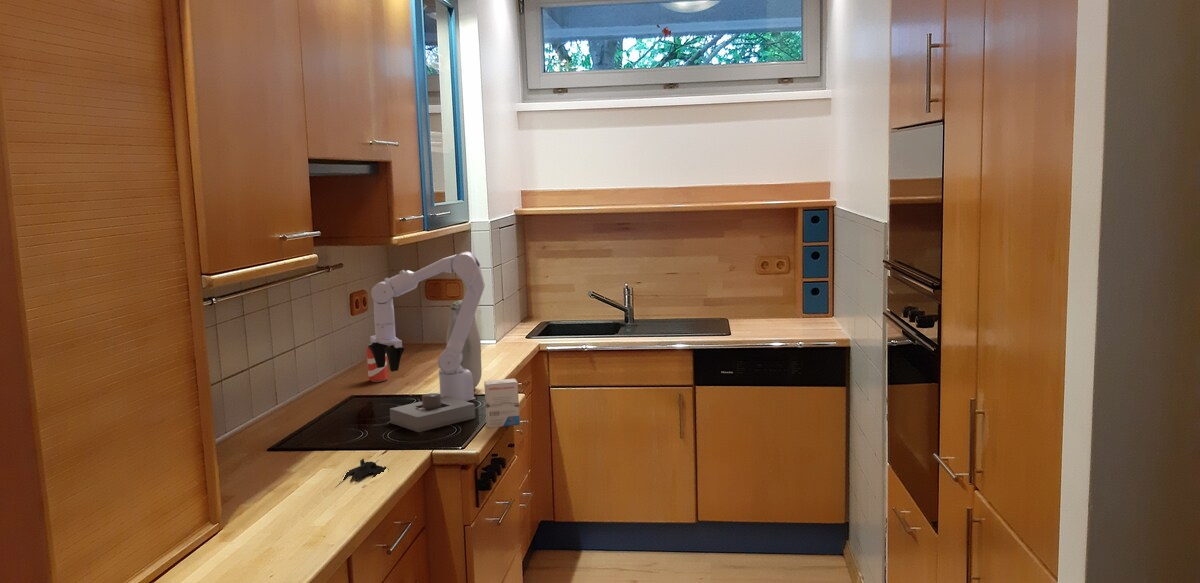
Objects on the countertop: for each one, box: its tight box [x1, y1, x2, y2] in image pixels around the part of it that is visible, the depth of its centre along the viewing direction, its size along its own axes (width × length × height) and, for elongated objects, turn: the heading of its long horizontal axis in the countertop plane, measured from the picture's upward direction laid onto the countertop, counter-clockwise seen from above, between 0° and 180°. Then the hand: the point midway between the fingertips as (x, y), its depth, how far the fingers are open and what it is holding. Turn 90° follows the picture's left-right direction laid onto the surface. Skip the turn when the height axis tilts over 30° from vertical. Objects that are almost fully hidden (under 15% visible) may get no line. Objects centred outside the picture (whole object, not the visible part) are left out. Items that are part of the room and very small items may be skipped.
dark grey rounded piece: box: [418, 392, 441, 411], centre depth 248 cm, size 6×5×6 cm
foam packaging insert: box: [389, 396, 476, 433], centre depth 249 cm, size 18×14×4 cm
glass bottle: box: [445, 299, 483, 389], centre depth 282 cm, size 10×10×28 cm
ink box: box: [483, 378, 521, 429], centre depth 242 cm, size 9×5×12 cm, turn 101°
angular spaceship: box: [343, 458, 388, 483], centre depth 204 cm, size 11×15×3 cm
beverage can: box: [366, 343, 389, 383], centre depth 300 cm, size 6×6×12 cm
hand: (387, 369), depth 268 cm, fingers open, 7 cm apart
